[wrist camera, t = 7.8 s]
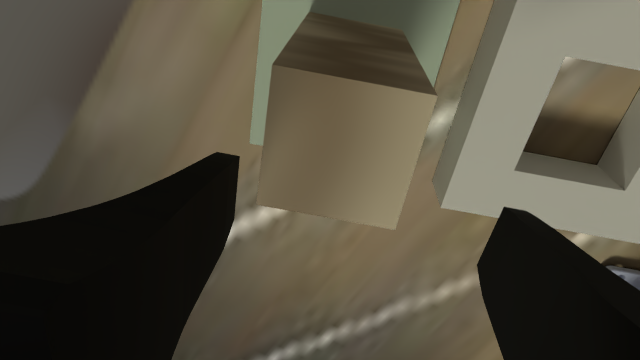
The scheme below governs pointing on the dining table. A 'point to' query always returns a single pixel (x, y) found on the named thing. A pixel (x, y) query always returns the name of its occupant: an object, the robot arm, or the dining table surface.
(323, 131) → the plug
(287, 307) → the dining table surface
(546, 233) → the robot arm
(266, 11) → the mat
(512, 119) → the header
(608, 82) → the dining table surface
